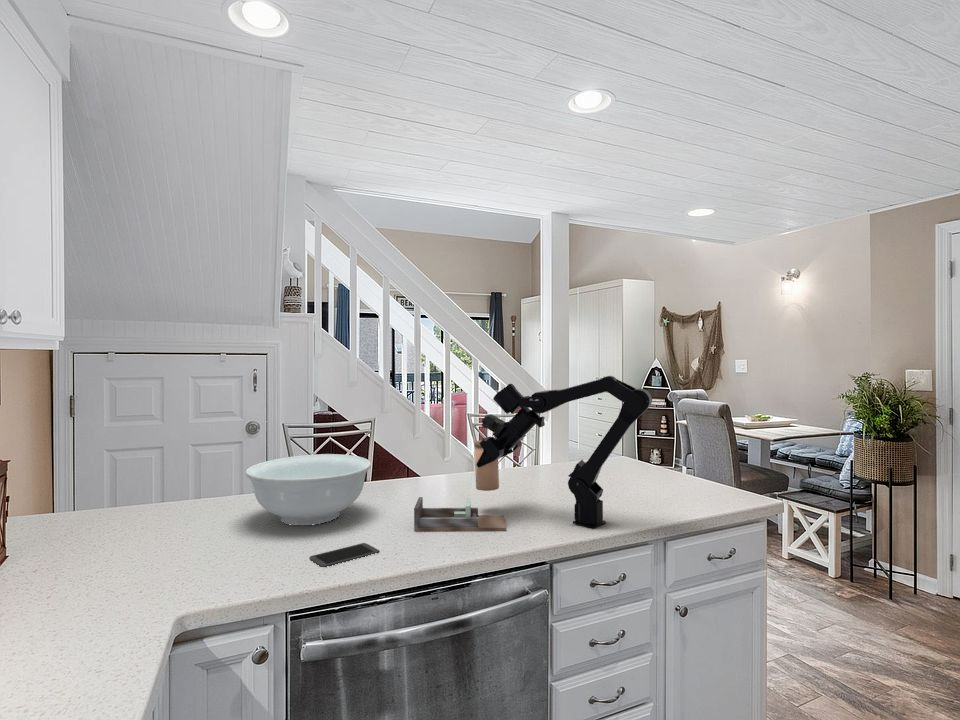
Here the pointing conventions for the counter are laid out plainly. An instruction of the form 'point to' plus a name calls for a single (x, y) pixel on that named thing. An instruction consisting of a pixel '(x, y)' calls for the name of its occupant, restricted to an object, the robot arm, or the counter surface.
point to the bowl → (308, 486)
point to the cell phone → (343, 554)
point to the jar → (486, 472)
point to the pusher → (465, 513)
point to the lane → (454, 520)
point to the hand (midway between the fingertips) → (482, 463)
